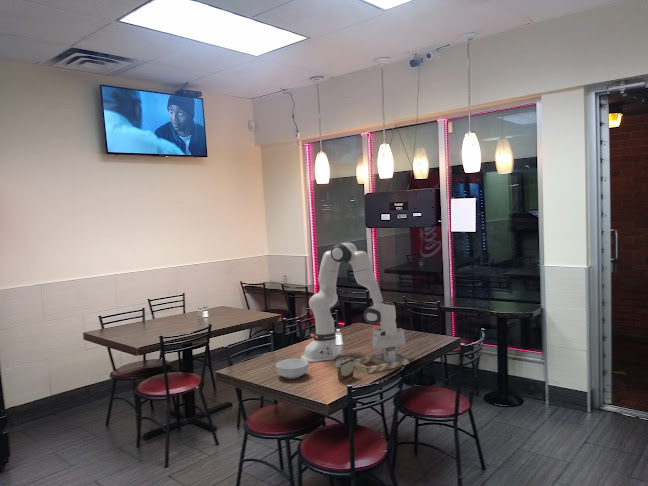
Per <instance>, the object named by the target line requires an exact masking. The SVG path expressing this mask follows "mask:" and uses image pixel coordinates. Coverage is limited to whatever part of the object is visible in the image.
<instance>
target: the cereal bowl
mask: <svg viewBox="0 0 648 486" xmlns="http://www.w3.org/2000/svg"><path fill="white" fill-rule="evenodd" d="M275 367H276V372H277V374H278V375H279V376H281V377H282V378H285V379H290V380H291V379H294V380H295V379H298V378H300V377H302V376H303V375H305V374H306V373H307V372H308V369H309V362H307V361H306V360H303V359H301V358H287V359H284V360H280V361H278V362H277V363H276V365H275Z"/></svg>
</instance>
